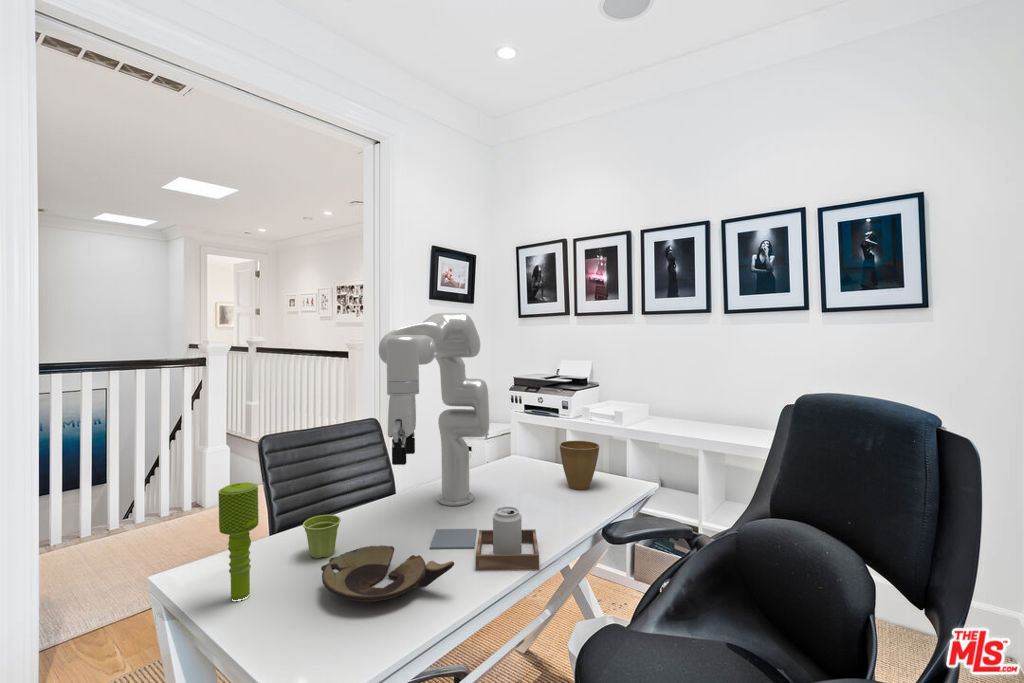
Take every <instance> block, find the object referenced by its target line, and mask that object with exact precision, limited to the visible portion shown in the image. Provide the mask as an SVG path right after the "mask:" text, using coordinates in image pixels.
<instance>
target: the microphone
mask: <svg viewBox="0 0 1024 683" xmlns="http://www.w3.org/2000/svg"><path fill="white" fill-rule="evenodd" d="M258 526H259V486H258V484H257V483H253V482H237V483H232V484H229V485H225V487H224V486H223V488H220V489H219V490H218V528H219V533H221V534H222V535H226V536H227V535H228V543H227V546H228V547H227V550H228V552H230V554H229V555H228V558H229V563H228V566H229V567H230V568H229V570H228V572H229V574H230V600H231V599H233V600H238V599H243V598H245V597H247V596H248V595H249V594H250V595H251V592H250V591H251V583H250V582H251V581H250V580H251V577H250V576H251V574H250V571H251V568H252V565H251V564H250V563H251V561H252V560H251V558H250V555H251V551H250V548H251V543H252V541H251V540H252V539H251V537H250V535H251V534H250V531H252V530H255V528H256V527H258Z"/></svg>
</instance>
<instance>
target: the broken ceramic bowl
mask: <svg viewBox="0 0 1024 683" xmlns="http://www.w3.org/2000/svg"><path fill="white" fill-rule="evenodd" d="M394 554H395V547H394V546H392V545H391V546H390V545H389V546H388V545H370V546H364V547H363V546H362V547H359V548H356V549H353V550H350V551H347V552H344V553H342V554H339V555H338V556H333V557H331V558H330V559H329V560H328V563H326V564H324V565H321V568H320V569H321V571H322V573H321V581H322V584H323V586H324V587H325V589H326V590H327V591H328V592H330V593H332V594H333V595H335V596H337V597H340V598H344V599H348V600H350V601H351V600H352V601H356V602H378V601H379V602H380V601H383V600H389V599H393V598H396V597H398V596H400V595H403V594H405V593H407V592H409V591H411V590H412V589H414V588H425V587H427V586H429V585H431V584H432V583H433V582H434V581H436V580H437V579H439V578H440V577H441V576H443V575H444V574H446V573H447V572H448V571H449V570H451V569H452V568H453V567H454V566H455V562H454V561H453V560H452V561H451V560H450V561H447V562H445V563H438V562H436V561H434V560H430V561H428V562H427V563H426V562H425V559H424V558H423V557H422V556H421V555H417V556H416V555H414V554H412V555H411V556H409V558H406V560H405V561H404V562H402V563H400V565H398V566H397V567H395V568H394V569H393V570H392V571H390V572H389V573H388V570H389V568H390V566H391V562H392V560H393V556H394ZM335 571H337V572H335ZM387 573H388V575H387V577H388V579H392V580H394V581H392V582H389V583H390V584H389V583H388V584H387V585H386V586H384V587H374V585H375V584H377V583H379V582H380V581H382V580H383V578H385V576H386V574H387Z"/></svg>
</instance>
